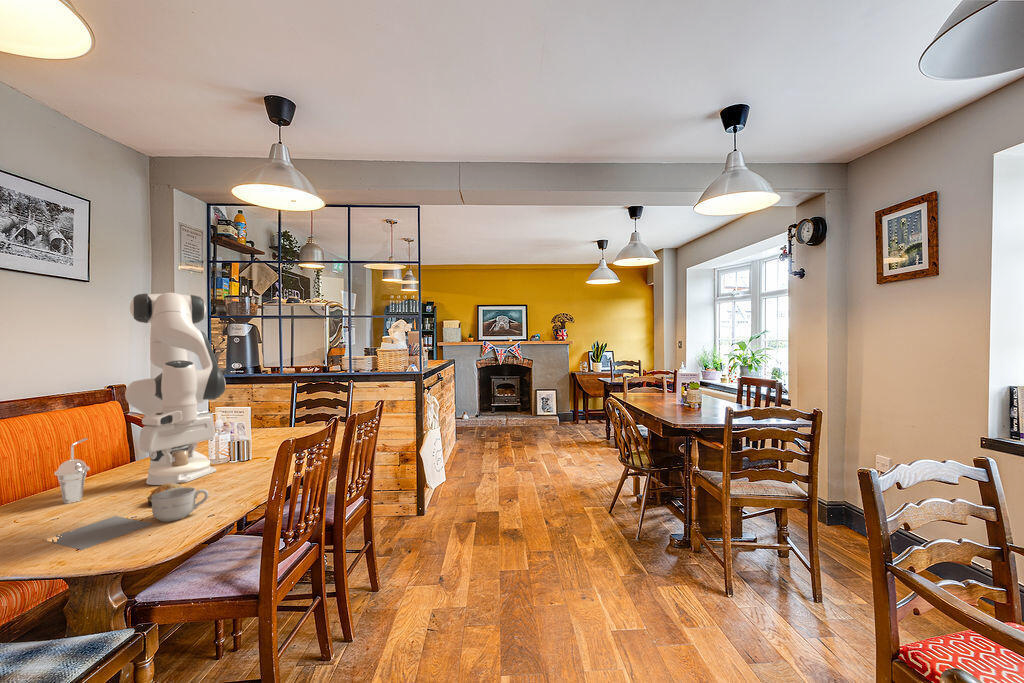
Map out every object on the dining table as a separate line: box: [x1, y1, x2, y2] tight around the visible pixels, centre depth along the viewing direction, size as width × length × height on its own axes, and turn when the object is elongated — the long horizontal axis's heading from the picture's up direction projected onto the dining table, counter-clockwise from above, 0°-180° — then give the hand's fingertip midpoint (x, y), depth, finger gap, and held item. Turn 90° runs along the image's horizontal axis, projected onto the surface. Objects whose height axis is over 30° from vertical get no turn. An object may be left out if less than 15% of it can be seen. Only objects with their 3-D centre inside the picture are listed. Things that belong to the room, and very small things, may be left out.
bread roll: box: [146, 483, 184, 507], centre depth 149 cm, size 10×10×8 cm
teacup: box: [151, 486, 209, 523], centre depth 136 cm, size 14×11×8 cm
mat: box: [45, 515, 154, 551], centre depth 126 cm, size 17×17×1 cm
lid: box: [147, 450, 211, 476], centre depth 136 cm, size 15×15×5 cm
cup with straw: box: [54, 437, 91, 504], centre depth 150 cm, size 8×9×20 cm
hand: (180, 460), depth 136 cm, fingers closed on lid, 4 cm apart
